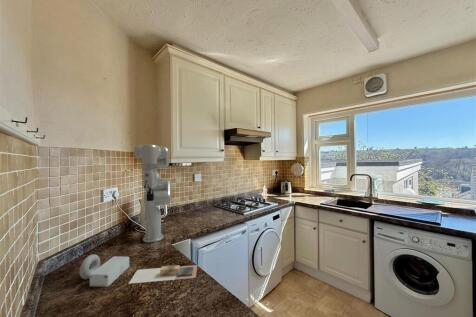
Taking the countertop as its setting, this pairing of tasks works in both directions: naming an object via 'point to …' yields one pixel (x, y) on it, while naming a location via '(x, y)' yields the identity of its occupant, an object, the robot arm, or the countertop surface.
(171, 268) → the turner
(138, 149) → the robot arm
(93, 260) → the donut
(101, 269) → the skincare box
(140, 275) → the board
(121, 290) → the countertop surface
